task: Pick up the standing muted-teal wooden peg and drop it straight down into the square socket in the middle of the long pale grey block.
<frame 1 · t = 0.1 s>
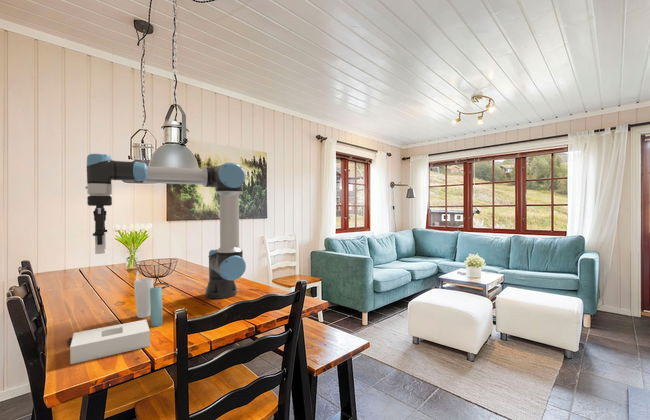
hand: (100, 251, 119), 28 cm above the table, tool pointing down, fingers open, 13 cm apart
phone: (96, 338, 108), on the table
teal peg: (156, 324, 119), on the table
drinking glass: (144, 316, 128), on the table
socket block: (112, 347, 100), on the table
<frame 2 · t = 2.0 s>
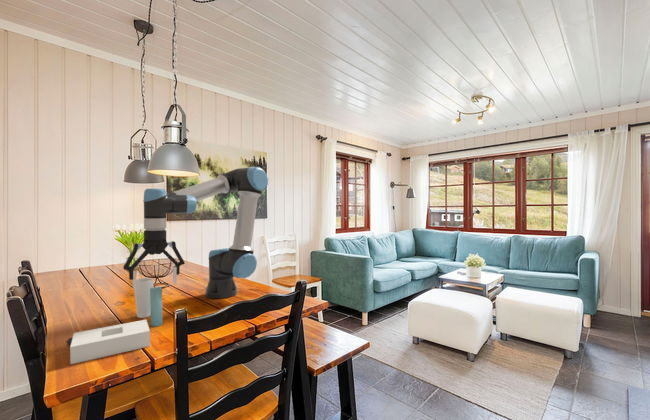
hand: (155, 285, 118), 15 cm above the table, tool pointing down, fingers open, 13 cm apart
nothing on the table moved.
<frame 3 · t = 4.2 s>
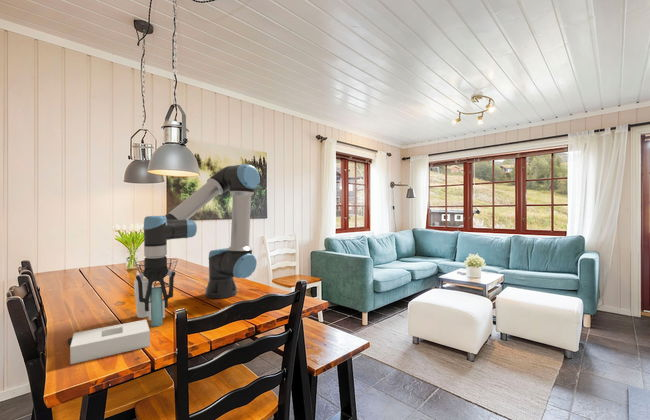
hand: (156, 317, 119), 3 cm above the table, tool pointing down, fingers closed on teal peg, 4 cm apart
teal peg: (156, 324, 119), on the table, touching gripper
everything else where it was.
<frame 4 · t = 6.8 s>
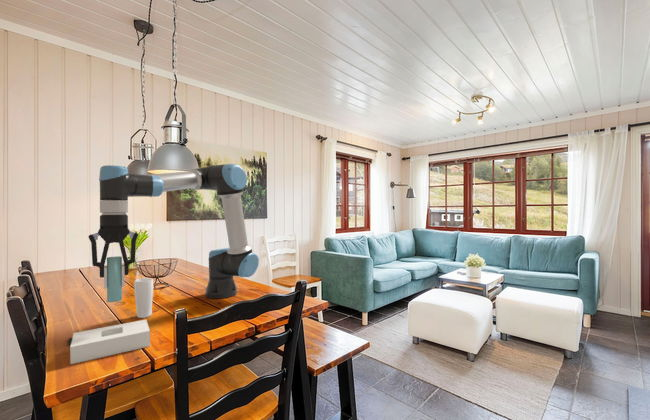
hand: (114, 286, 101), 19 cm above the table, tool pointing down, fingers closed on teal peg, 4 cm apart
teal peg: (114, 300, 101), point 15 cm above the table, touching gripper
everything else where it was.
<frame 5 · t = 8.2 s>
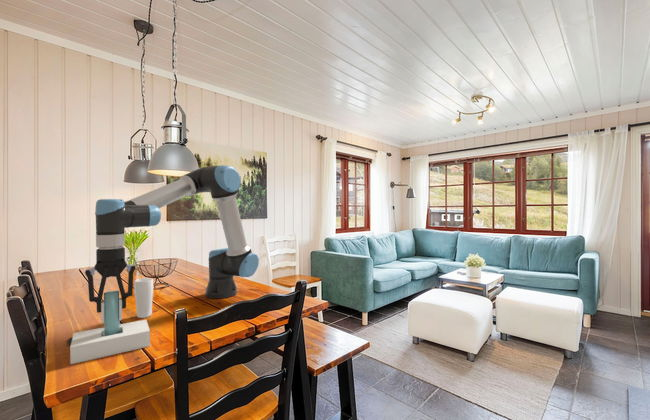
hand: (112, 320, 100), 9 cm above the table, tool pointing down, fingers closed on teal peg, 4 cm apart
teal peg: (112, 335, 100), point 4 cm above the table, touching gripper
everything else where it was.
when the fingers open (7 cm above the table, at t = 9.5 s): teal peg drops 2 cm, resting in socket block.
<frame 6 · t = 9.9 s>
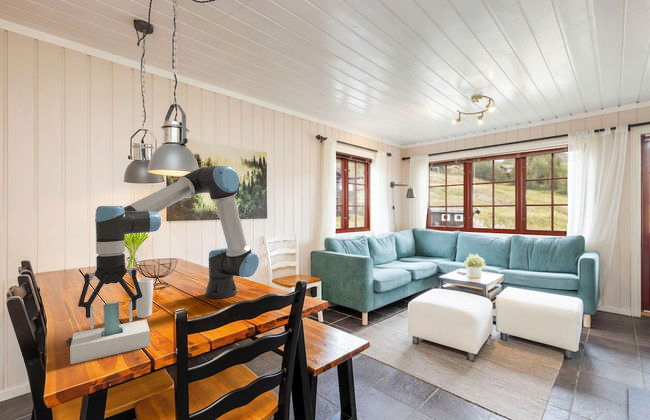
hand: (112, 323, 100), 8 cm above the table, tool pointing down, fingers open, 9 cm apart
teal peg: (112, 347, 100), resting in socket block
everything else where it was.
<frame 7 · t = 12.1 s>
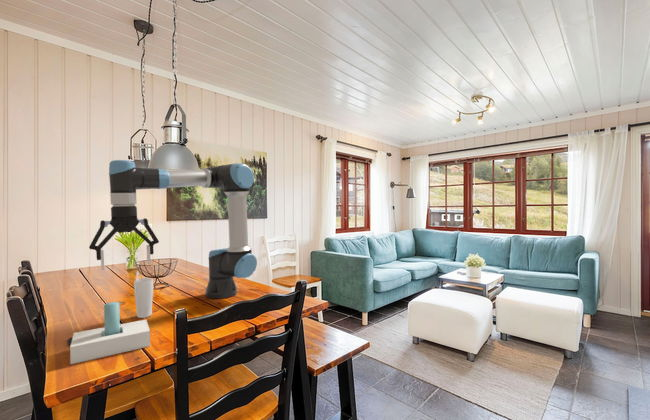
hand: (126, 266, 109), 24 cm above the table, tool pointing down, fingers open, 13 cm apart
nothing on the table moved.
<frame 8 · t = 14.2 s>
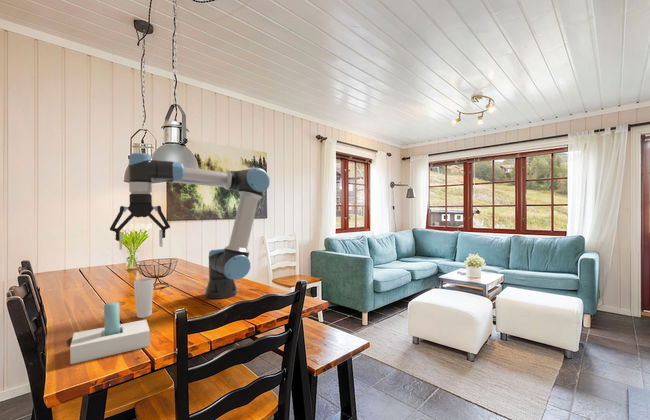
hand: (141, 247, 123), 29 cm above the table, tool pointing down, fingers open, 13 cm apart
nothing on the table moved.
at the end: teal peg 0.0 cm off-centre on the socket block, point 0.0 cm above the socket block's base; teal peg tilted 0°; the gripper is holding nothing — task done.
